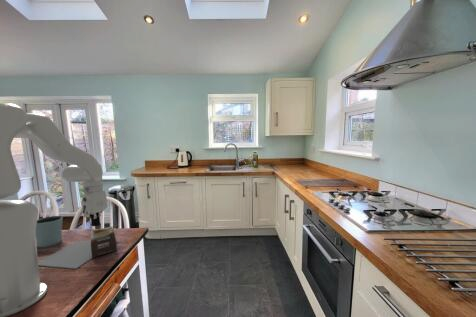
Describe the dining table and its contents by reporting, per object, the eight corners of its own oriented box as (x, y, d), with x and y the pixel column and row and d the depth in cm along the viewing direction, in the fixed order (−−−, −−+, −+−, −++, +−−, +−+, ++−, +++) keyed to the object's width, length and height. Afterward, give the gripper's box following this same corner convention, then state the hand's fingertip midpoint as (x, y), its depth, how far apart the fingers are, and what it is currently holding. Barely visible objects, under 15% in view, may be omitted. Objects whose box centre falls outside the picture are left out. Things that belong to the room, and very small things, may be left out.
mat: (76, 269, 73) (76, 268, 73) (32, 265, 76) (32, 264, 76) (114, 243, 92) (114, 243, 92) (78, 241, 95) (78, 240, 95)
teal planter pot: (32, 245, 92) (30, 221, 91) (59, 236, 101) (57, 214, 100) (40, 250, 87) (38, 225, 86) (68, 240, 96) (66, 217, 95)
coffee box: (113, 225, 97) (116, 237, 85) (113, 237, 98) (117, 250, 85) (90, 230, 92) (90, 244, 79) (91, 243, 92) (91, 258, 80)
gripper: (86, 192, 84) (88, 232, 86) (112, 185, 99) (114, 219, 100) (71, 192, 85) (74, 232, 87) (99, 185, 100) (101, 219, 101)
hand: (95, 225), depth 93 cm, fingers closed
